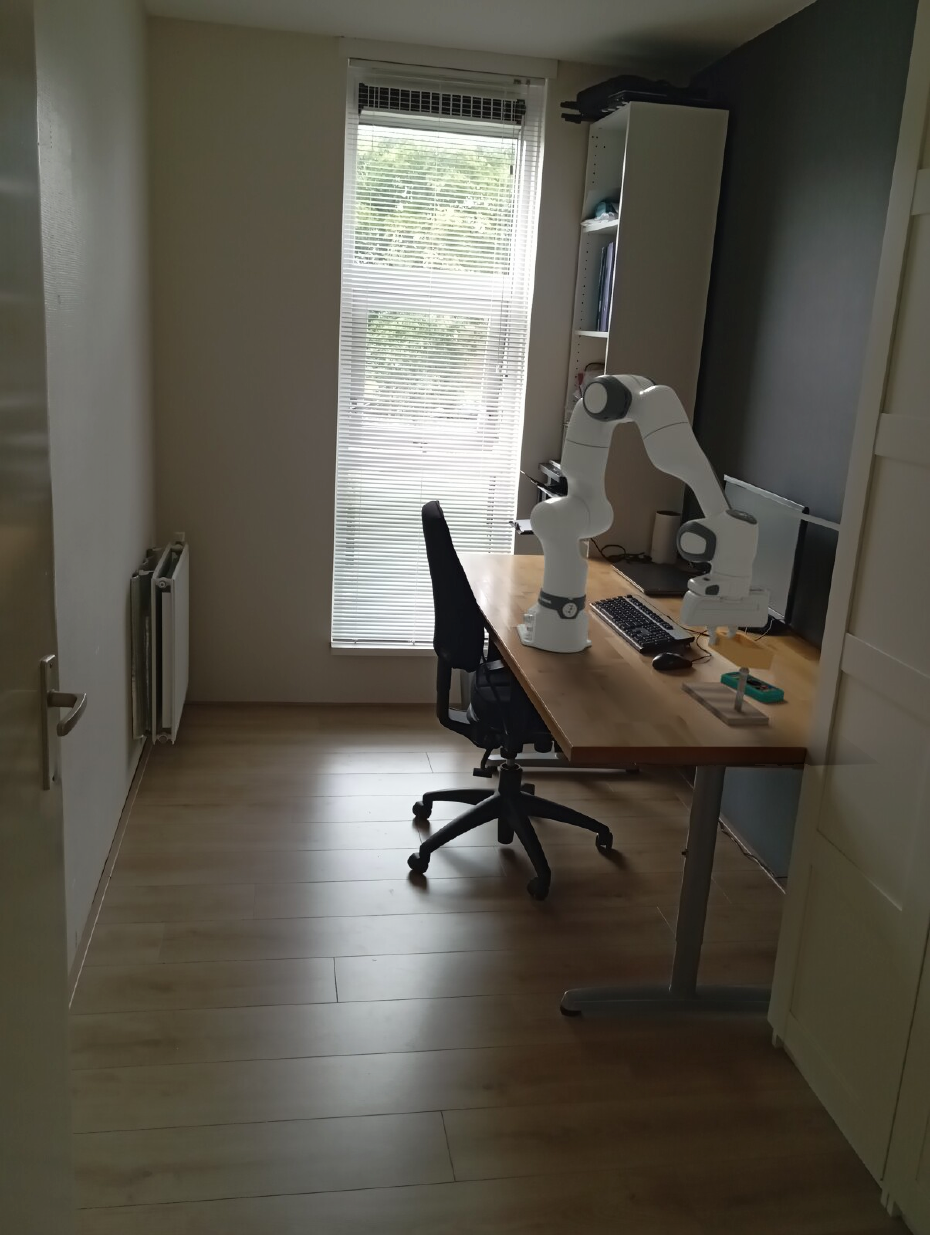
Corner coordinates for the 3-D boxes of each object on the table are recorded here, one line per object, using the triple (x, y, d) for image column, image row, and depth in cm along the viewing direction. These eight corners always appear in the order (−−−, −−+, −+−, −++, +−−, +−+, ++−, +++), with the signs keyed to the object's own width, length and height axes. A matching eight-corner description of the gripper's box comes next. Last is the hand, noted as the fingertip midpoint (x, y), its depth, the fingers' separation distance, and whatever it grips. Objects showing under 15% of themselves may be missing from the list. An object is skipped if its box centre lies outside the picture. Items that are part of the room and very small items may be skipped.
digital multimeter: (762, 705, 236) (764, 693, 235) (718, 683, 248) (720, 671, 248) (785, 702, 240) (787, 690, 239) (740, 680, 252) (742, 669, 251)
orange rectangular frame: (707, 646, 231) (711, 629, 230) (737, 649, 233) (741, 632, 232) (738, 666, 218) (742, 649, 217) (769, 669, 221) (774, 652, 220)
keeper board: (681, 688, 241) (689, 641, 237) (719, 688, 243) (727, 642, 240) (727, 724, 220) (736, 674, 217) (768, 724, 223) (777, 674, 220)
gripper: (763, 582, 229) (753, 640, 233) (681, 580, 224) (672, 639, 228) (778, 589, 224) (768, 649, 228) (694, 587, 218) (685, 648, 222)
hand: (719, 644), depth 228 cm, fingers closed on orange rectangular frame, 2 cm apart
